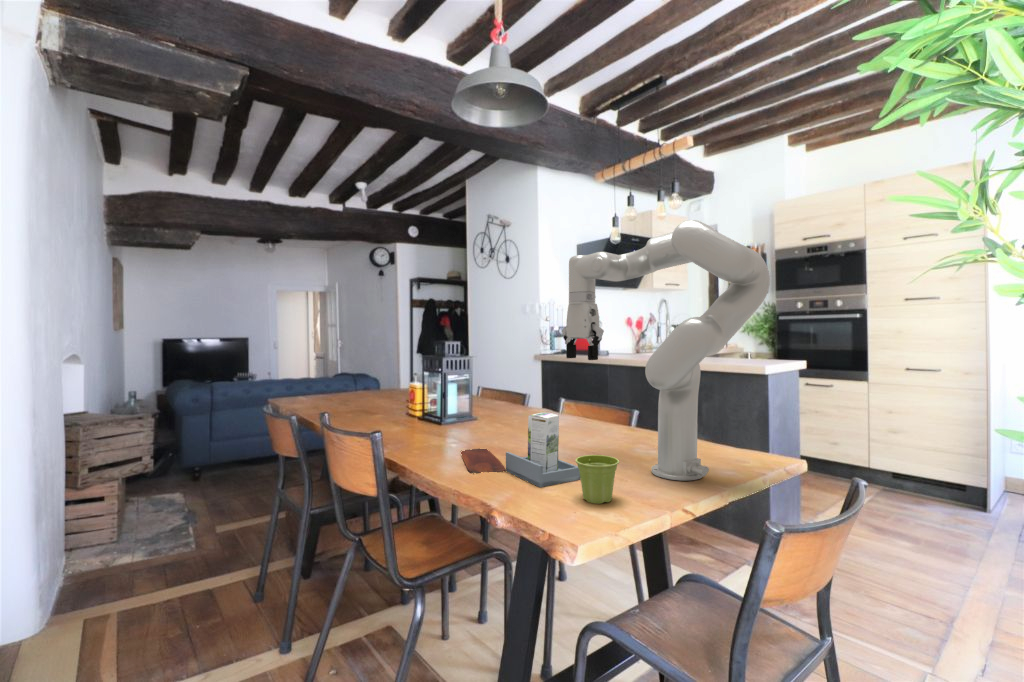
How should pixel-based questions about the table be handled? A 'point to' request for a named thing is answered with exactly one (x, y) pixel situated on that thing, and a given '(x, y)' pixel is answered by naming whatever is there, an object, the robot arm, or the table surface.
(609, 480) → the plant pot
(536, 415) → the syrup box
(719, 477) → the table surface
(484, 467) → the wooden tablet
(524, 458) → the tray
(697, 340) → the robot arm
